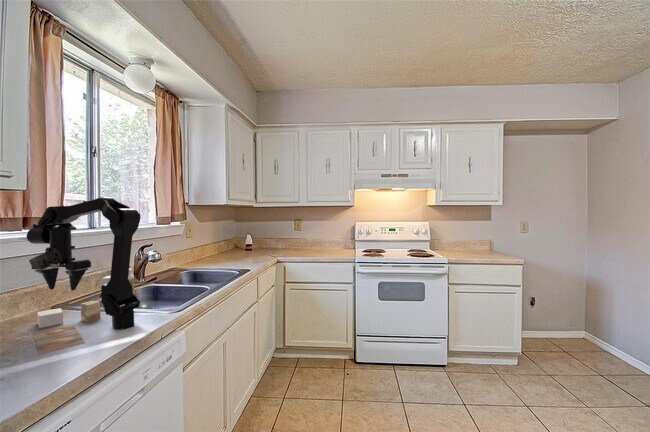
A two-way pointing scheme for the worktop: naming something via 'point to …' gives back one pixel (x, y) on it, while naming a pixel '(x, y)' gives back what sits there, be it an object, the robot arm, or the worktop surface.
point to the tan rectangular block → (90, 311)
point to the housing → (50, 318)
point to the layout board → (57, 338)
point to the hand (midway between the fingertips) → (62, 289)
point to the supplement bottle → (131, 279)
